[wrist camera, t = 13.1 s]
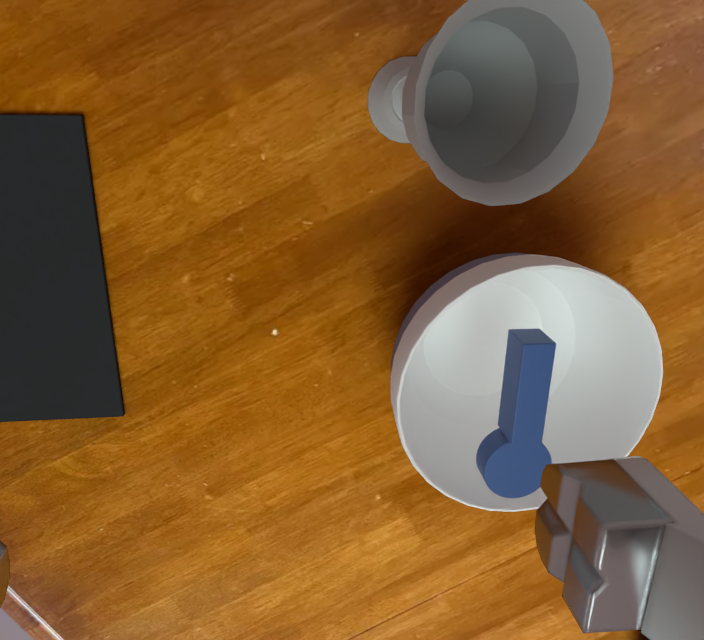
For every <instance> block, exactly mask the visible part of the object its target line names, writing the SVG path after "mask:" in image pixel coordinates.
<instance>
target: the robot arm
mask: <svg viewBox="0 0 704 640" xmlns="http://www.w3.org/2000/svg"><path fill="white" fill-rule="evenodd" d="M540 488H541V489H542V491H543V492H544V494H545V495H546V497H547V499H546V500H545V502H544V503H543V504H542V505H541V506H540V507H539V508H538V509H537V511H536V520H535V535H536V543H537V548H538V551H539V554H540V557H541V560H542V562H543V564H544V565H545V567H546V569H547V571H548V573H550V574H551V575H553V576H554V577H556V578H557V579H559V580H560V581H562V582H563V583H564V586H563V592H562V597H563V599H564V601H565V602H566V604H567V606H568V607H569V609H570V611H571V613H572V614H573V616H574V618H575V620H576V621H577V623H578V625H579V626H580V628H581V630H582V632H583V633H594V632H610V631H627V630H641V633H642V634H643V635H645V636H646V637H647V638H648V639H650V640H704V514H703V513H702V512H701V511H700V510H699V509H698V508H697V507H696V506H695V505H694V504H693V503H692V502H691V501H690V500H689V499H688V498H687V497H686V496H685V495H684V494H683V493H682V492H681V491H679V490H678V489H677V488H676V487H675V486H674V485H673V484H672V483H671V482H670V481H669V480H668V479H667V478H666V477H665V476H664V475H663V474H662V473H661V472H660V471H659V470H658V469H657V468H656V467H654V466H653V465H652V464H651V463H650V462H649V461H648V460H647V459H645V458H642V457H640V456H633V457H622V458H611V459H607V460H595V461H581V462H567V463H553V464H546V466H545V468H544V470H543V472H542V476H541V483H540ZM0 521H1V520H0ZM9 579H10V559H9V554H8V550H7V546H6V545H5V544H3V543H2V542H1V541H0V607H1V605H2V603H3V601H4V600H5V596H6V592H7V588H8V584H9Z"/></svg>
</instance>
